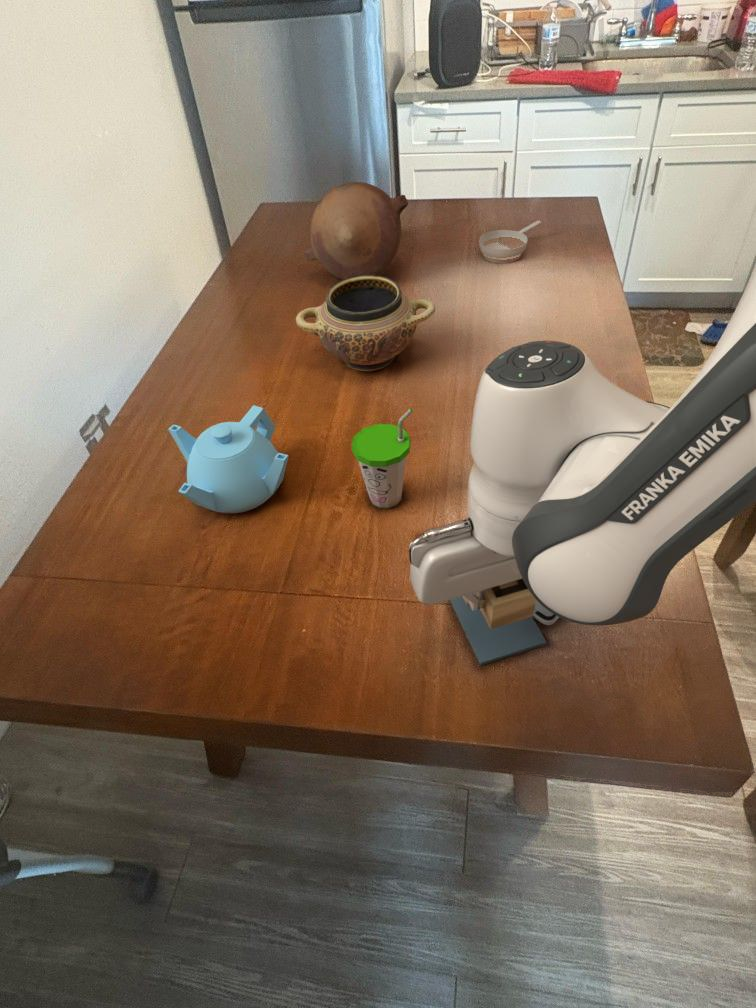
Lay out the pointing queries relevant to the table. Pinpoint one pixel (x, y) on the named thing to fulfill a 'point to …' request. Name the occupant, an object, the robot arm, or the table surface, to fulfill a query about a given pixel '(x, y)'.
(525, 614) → the tile
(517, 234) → the saucepan
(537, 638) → the mat
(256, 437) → the teapot
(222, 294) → the table surface
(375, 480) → the cup
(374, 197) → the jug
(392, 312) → the ceramic bowl
